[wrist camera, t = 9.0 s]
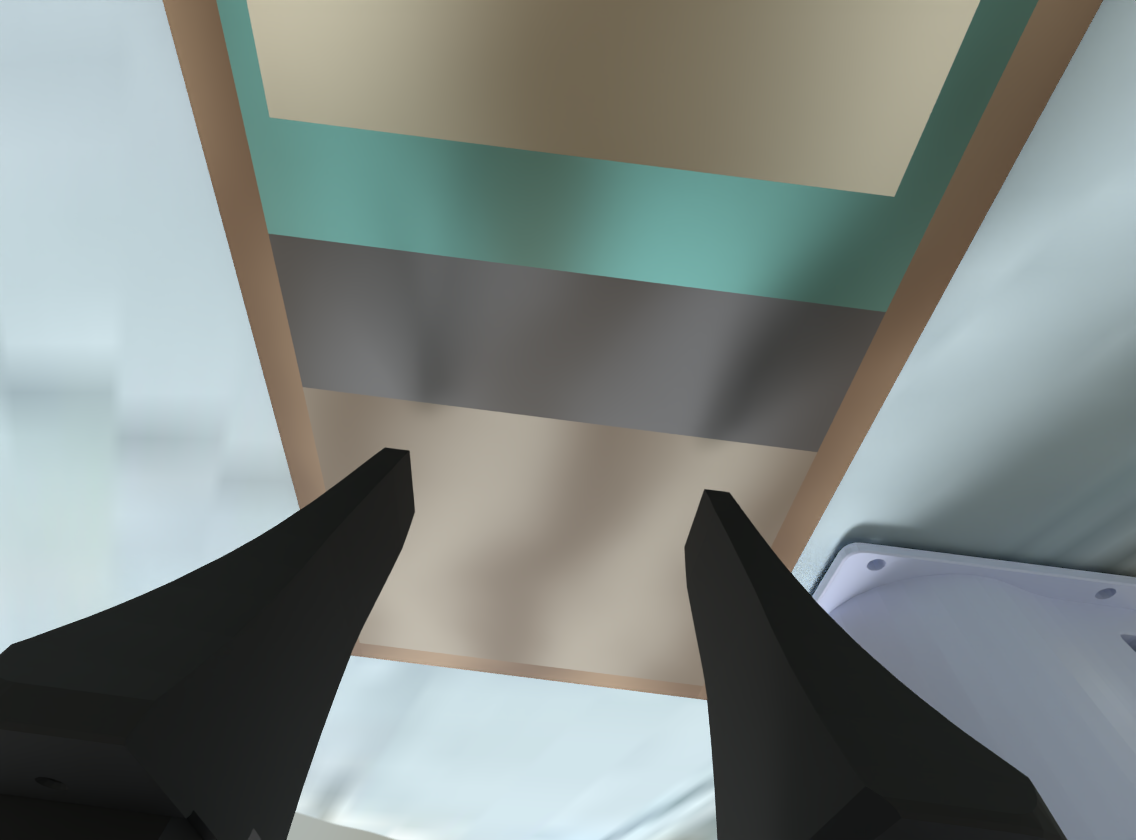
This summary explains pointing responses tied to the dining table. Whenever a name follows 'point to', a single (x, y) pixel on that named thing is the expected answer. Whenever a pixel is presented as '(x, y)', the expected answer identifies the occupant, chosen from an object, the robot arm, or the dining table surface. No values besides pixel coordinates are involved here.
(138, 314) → the dining table surface
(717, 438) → the shallow brown tray
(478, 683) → the dining table surface
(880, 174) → the birch block
